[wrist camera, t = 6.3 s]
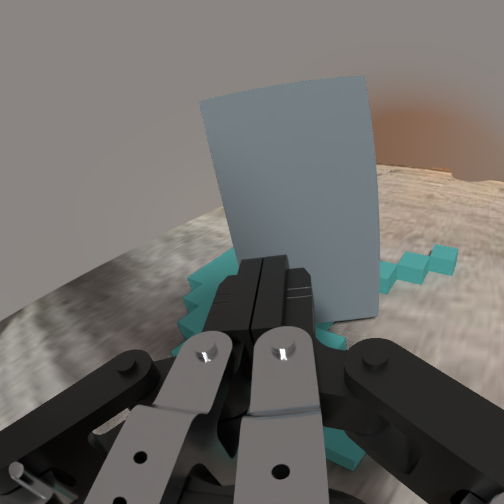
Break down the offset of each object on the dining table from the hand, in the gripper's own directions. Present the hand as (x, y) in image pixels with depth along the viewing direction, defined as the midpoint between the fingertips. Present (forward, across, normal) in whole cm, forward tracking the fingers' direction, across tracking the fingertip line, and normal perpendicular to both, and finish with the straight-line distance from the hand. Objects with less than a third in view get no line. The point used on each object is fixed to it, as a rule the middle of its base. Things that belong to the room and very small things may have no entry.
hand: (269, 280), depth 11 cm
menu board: (+8, -1, +8) cm, 11 cm away
